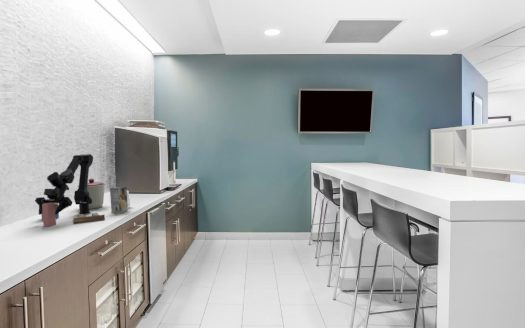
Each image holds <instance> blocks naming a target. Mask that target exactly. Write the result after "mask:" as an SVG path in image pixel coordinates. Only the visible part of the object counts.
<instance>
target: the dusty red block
mask: <svg viewBox="0 0 525 328" xmlns="http://www.w3.org/2000/svg"><path fill="white" fill-rule="evenodd" d="M42 210H43V220H42V223H43V225H42V227H44V228H49V227H53V226H54V225H56V224H57V220H56V219H57V218H56V216H55V202H49V203H45V204H42Z"/></svg>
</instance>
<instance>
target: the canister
mask: <svg viewBox="0 0 525 328" xmlns="http://www.w3.org/2000/svg"><path fill="white" fill-rule="evenodd" d="M105 186H106V183H104V182H100V181H95V179H94V178H88V184H87V190H88V192H89V196H90V198H91V199H92V203H91V204H89V210H93V209H99V208H102V207H103V205H104V201H105V199H104V198H105ZM77 188H79V185H77Z"/></svg>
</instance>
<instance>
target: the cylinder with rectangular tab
mask: <svg viewBox="0 0 525 328" xmlns="http://www.w3.org/2000/svg"><path fill="white" fill-rule="evenodd" d="M130 200H131V199H130V190H127V205H128V209H129V208H131V201H130Z"/></svg>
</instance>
